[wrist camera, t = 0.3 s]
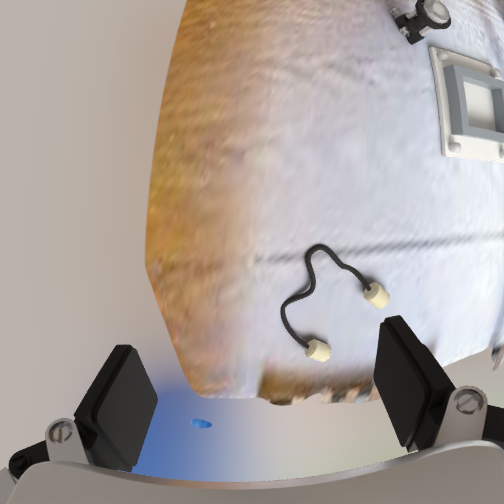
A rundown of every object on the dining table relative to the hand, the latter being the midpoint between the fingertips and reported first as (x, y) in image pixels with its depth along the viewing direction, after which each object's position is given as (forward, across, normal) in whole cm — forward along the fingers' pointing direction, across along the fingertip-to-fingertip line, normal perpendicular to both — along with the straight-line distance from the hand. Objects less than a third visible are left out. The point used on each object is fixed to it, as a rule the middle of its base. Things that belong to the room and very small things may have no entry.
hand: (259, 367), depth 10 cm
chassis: (+31, -38, -14) cm, 51 cm away
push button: (+31, -26, -27) cm, 49 cm away
